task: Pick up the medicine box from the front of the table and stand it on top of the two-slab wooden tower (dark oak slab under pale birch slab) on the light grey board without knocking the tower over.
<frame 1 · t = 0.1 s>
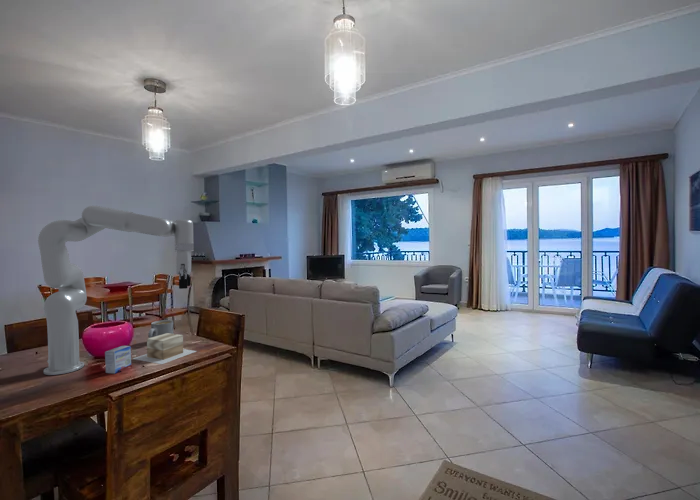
hand: (185, 287, 151), 31 cm above the table, tool pointing down, fingers open, 9 cm apart
medicine box: (118, 370, 138), on the table
oak slab: (165, 354, 153), point 1 cm above the table, touching base board, birch slab
birch slab: (165, 345, 153), point 5 cm above the table, touching oak slab
coffee mug: (159, 342, 176), on the table
base board: (165, 357, 153), on the table
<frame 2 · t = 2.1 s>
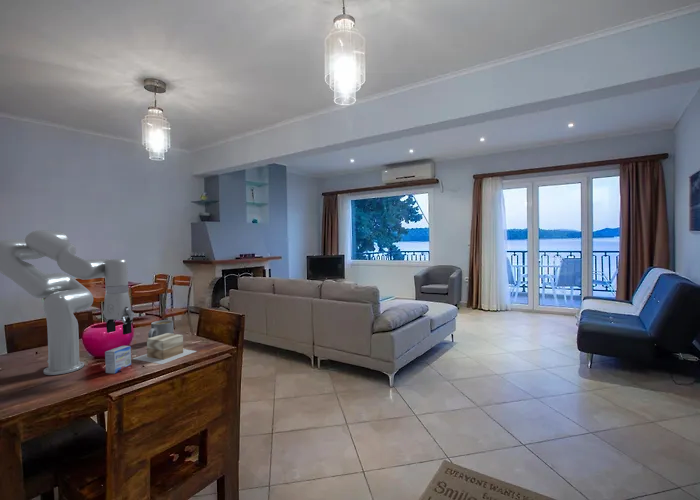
hand: (119, 332, 137), 15 cm above the table, tool pointing down, fingers open, 9 cm apart
nothing on the table moved.
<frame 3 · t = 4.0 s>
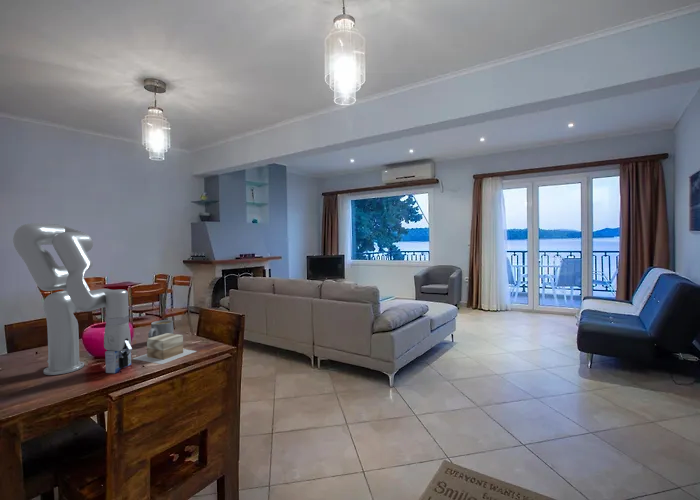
hand: (118, 365, 138), 2 cm above the table, tool pointing down, fingers closed on medicine box, 5 cm apart
medicine box: (118, 370, 138), on the table, touching gripper
everything else where it was.
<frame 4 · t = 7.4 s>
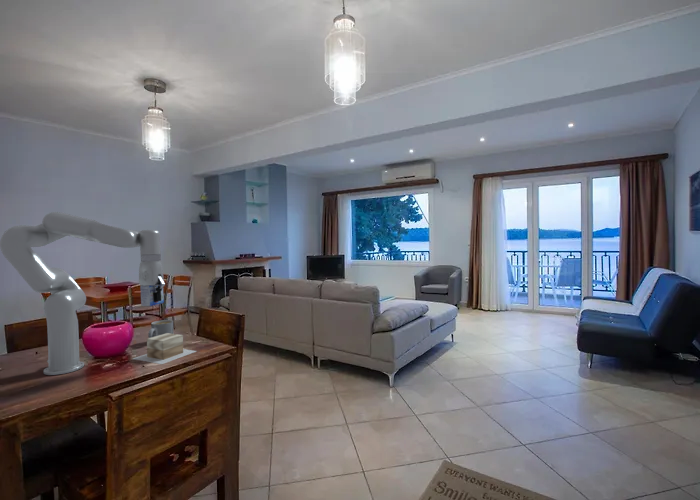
hand: (152, 300, 148), 26 cm above the table, tool pointing down, fingers closed on medicine box, 5 cm apart
medicine box: (152, 305, 148), point 24 cm above the table, touching gripper
everything else where it was.
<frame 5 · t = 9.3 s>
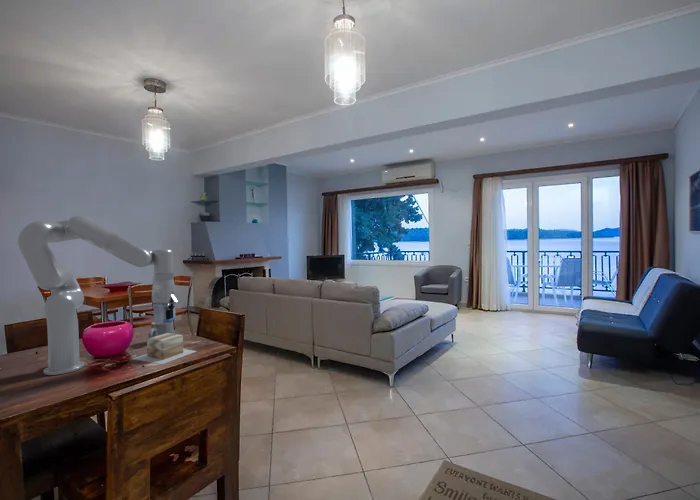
hand: (165, 317, 152), 18 cm above the table, tool pointing down, fingers closed on medicine box, 5 cm apart
medicine box: (165, 321, 152), point 16 cm above the table, touching gripper
everything else where it was.
when the fingers open (12 cm above the table, at t = 11.1 s): medicine box drops 1 cm, resting on birch slab.
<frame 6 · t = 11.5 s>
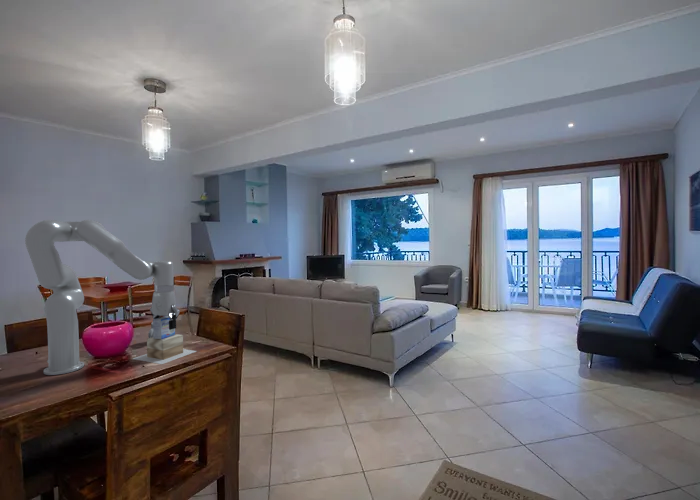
hand: (165, 327, 152), 13 cm above the table, tool pointing down, fingers open, 9 cm apart
medicine box: (164, 337, 152), point 9 cm above the table, touching birch slab
birch slab: (165, 345, 153), point 5 cm above the table, touching medicine box, oak slab
everything else where it was.
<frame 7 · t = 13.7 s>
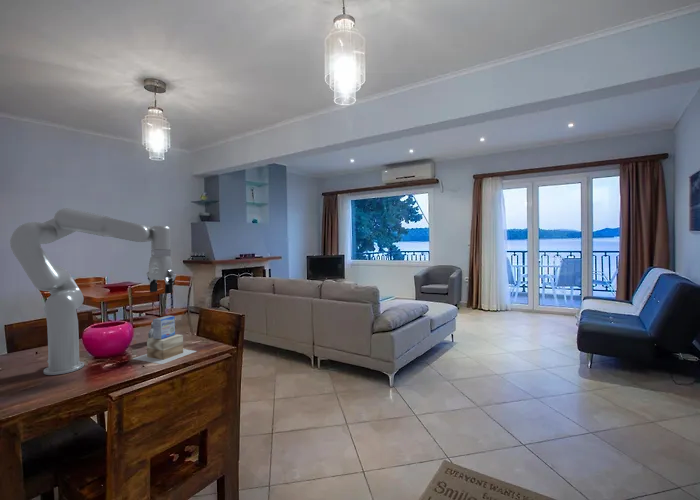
hand: (161, 292, 152), 29 cm above the table, tool pointing down, fingers open, 9 cm apart
nothing on the table moved.
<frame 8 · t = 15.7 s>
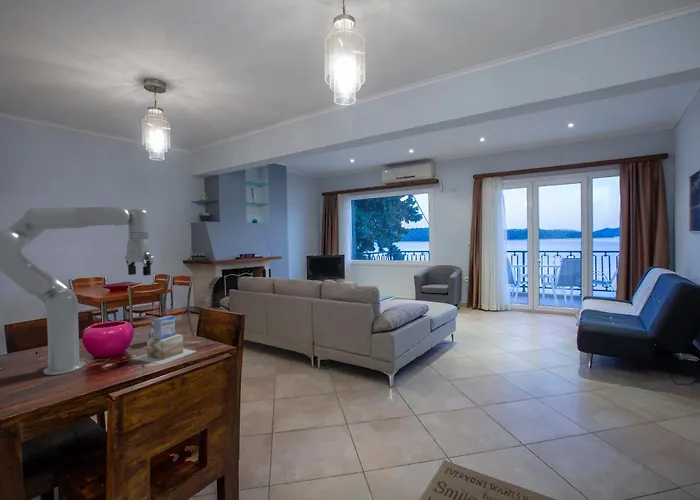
hand: (139, 274, 155), 36 cm above the table, tool pointing down, fingers open, 9 cm apart
nothing on the table moved.
at the end: medicine box 0.4 cm from the target spot, point 8.8 cm above the table; medicine box tilted 0°; birch slab 0.0 cm from the target spot, point 5.0 cm above the table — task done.
